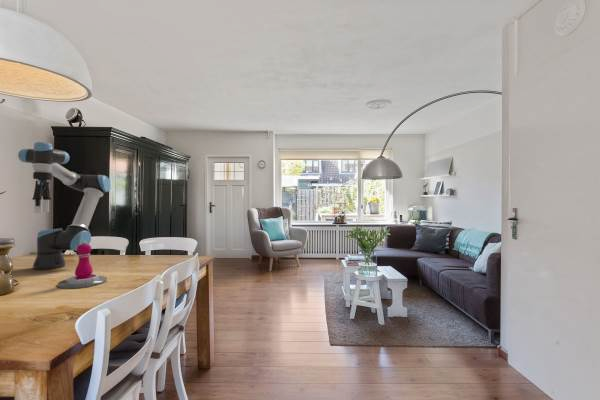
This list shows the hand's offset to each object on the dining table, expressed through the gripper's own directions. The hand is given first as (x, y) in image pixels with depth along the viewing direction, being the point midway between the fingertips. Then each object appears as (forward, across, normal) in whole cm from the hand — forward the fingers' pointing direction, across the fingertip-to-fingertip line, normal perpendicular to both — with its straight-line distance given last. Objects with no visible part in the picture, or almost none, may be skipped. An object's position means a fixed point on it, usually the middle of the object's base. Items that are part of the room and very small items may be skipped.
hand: (41, 212), depth 156 cm
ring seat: (+35, +20, +21) cm, 45 cm away
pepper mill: (+34, +20, +21) cm, 45 cm away
